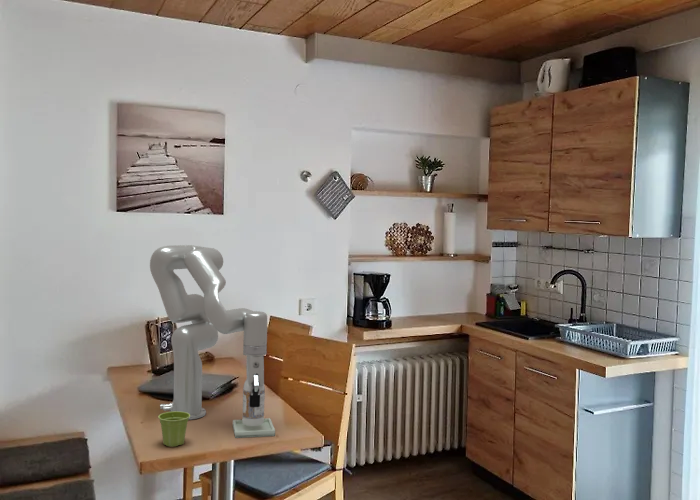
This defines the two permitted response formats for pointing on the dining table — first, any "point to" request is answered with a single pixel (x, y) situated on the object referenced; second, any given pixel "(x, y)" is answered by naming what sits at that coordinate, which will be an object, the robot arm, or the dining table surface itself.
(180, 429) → the plant pot
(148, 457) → the dining table surface
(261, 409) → the bath foam
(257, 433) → the tray
